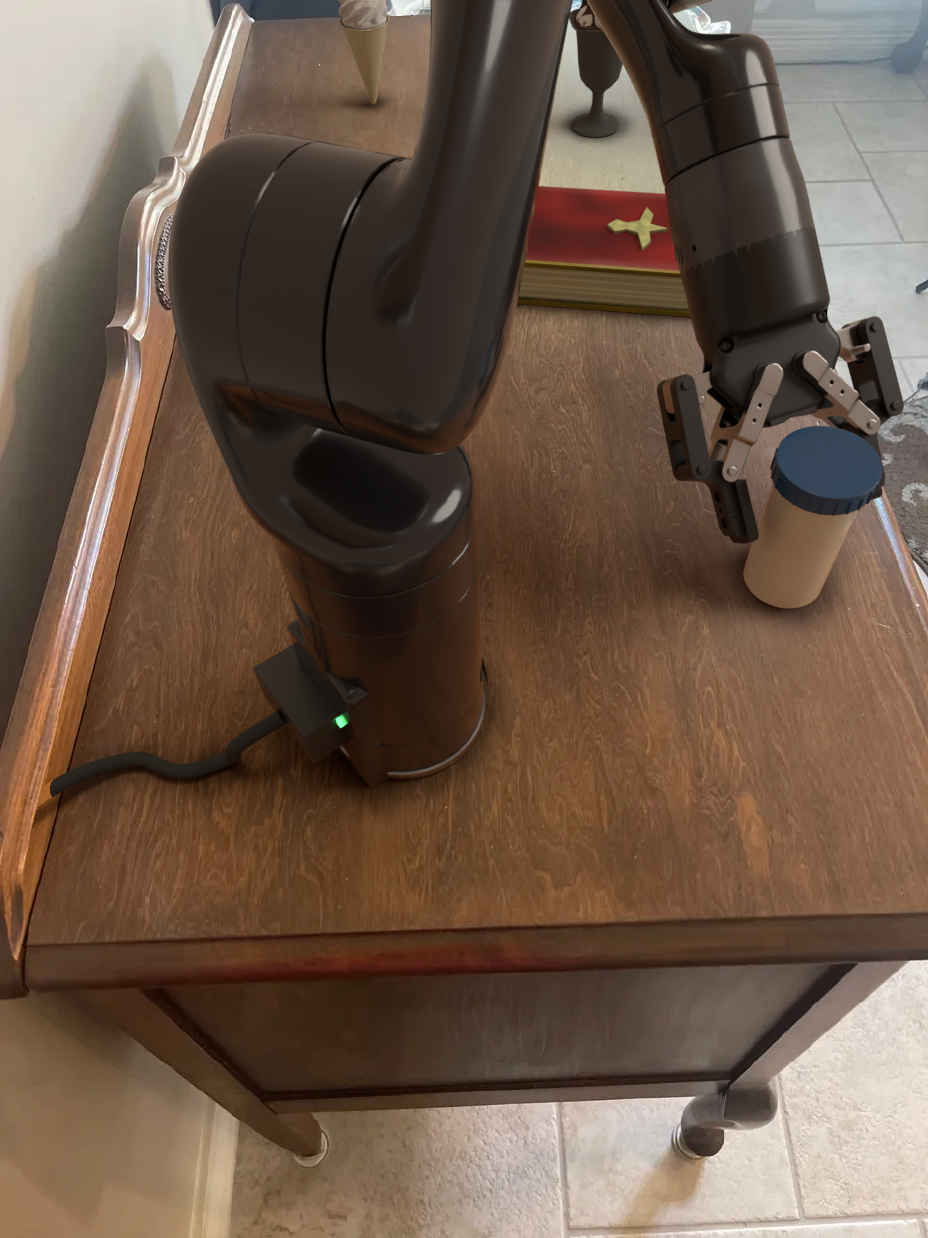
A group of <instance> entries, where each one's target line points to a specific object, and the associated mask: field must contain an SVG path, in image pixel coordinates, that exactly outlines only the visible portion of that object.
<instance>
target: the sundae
mask: <svg viewBox="0 0 928 1238" xmlns="http://www.w3.org/2000/svg"><path fill="white" fill-rule="evenodd" d="M569 22H570V25H571V27H572V29H573V30H574V31H575V34H576V48H577V66H578V73H579V78H580V80H581V82H582V83H583V84H584V86H585V87H586V88H587V89H588V90H590V91H591V93H592V94H591V105H590V109H589V111H588V112H585V113H582V114H581V113H580V114H579V115H577V116H576V117H575V118H574V119H573V120H572V122H571V128H572V130H573V131H574V132H575V133H577V134H578V135H581V136H583V137H588V138H604V137H608V136H611V135H613V134H615V133H616V132H617V131H618V130H619V129H620V127H621V126H620V125H621V123H620V121H619V119H618V118H617V117H616V116H615V115H612V114H610V113H607V112H605V111H604V95H605V93H606V91H607V90H609V89H611V88H612V87H613V86H614V84H616V82H617V81H618V80H619V79H620V75H621V73H622V69H623V67H624V65H623V64H622V62H621V60H620V58H619V56H618V54H617V53H616V51H615V49H614V47H613V45H612V44H611V42H610V40H609V39H608V37H607V35H606V34H605V32H604V30H603V29H602V27H601V25H600V23H599V22H598V20H597V18H596V17H595V15H594V13H593V11H592V9H591V7H590V5H589V3H588V1H587V0H581V4H580V6H579V8H576V9H573V10H571V12H570V16H569Z"/></svg>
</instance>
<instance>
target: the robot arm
mask: <svg viewBox="0 0 928 1238" xmlns="http://www.w3.org/2000/svg"><path fill="white" fill-rule="evenodd" d="M429 1H430V2H429V3H430V37H429V59H428V71H427V83H426V90H425V98H424V99H425V100H424V105H423V112H422V116H421V117H422V118H421V125H420V127H419V133H418V137H417V141H416V145H415V148H414V150H413V154H412V156H411V157H405V156H401V155H396V154H390V153H385V152H380V151H374V150H369V149H365V148H358V147H354V146H348V145H342V144H337V143H331V142H326V141H322V140H316V139H311V138H304V137H299V136H294V135H288V134H282V133H281V134H280V133H273V132H245V133H240V134H237V135H234V136H231V137H228V138H225V139H223V140H222V141H219V142H218V143H217V144H215V145H214V146H213V147H212V148H210V149H209V150H208V151H207V152H206V153H205V154H204V155H203V156H202V157H201V158H200V159H199V161H197V162H196V164H195V165H194V167H193V168H192V170H191V171H190V173H189V174H188V176H187V178H186V180H185V182H184V184H183V186H182V189H181V191H180V193H179V197H178V200H177V203H176V206H175V209H174V213H173V217H172V221H171V225H170V226H171V227H170V232H169V241H168V256H167V257H168V259H167V260H168V261H167V262H168V263H167V279H168V294H169V301H170V308H171V315H172V321H173V325H174V329H175V336H176V339H177V343H178V347H179V350H180V353H181V356H182V359H183V363H184V365H185V369H186V372H187V375H188V377H189V380H190V383H191V385H192V388H193V390H194V393H195V396H196V398H197V401H198V403H199V406H200V408H201V411H202V413H203V415H204V417H205V420H206V422H207V424H208V427H209V429H210V432H211V434H212V437H213V439H214V441H215V443H216V446H217V448H218V450H219V453H220V455H221V457H222V460H223V462H224V465H225V468H226V470H227V472H228V474H229V476H230V479H231V481H232V484H233V487H234V489H235V491H236V494H237V496H238V498H239V500H240V502H241V504H242V506H243V507H244V509H245V510H246V512H247V514H248V515H249V516H250V518H251V519H252V520H253V521H254V523H256V524H257V525H258V526H259V527H260V529H262V530H263V531H264V532H266V533H267V534H268V535H269V536H270V537H271V539H272V542H273V545H274V549H275V553H276V555H277V558H278V561H279V565H280V568H281V571H282V575H283V578H284V581H285V583H286V588H287V590H288V594H289V597H290V601H291V603H292V606H293V610H294V613H295V616H296V618H295V619H294V620H292V621H290V622H289V623H288V624H287V632H288V634H289V637H290V641H291V643H292V644H291V645H289V646H287V647H286V648H284V649H282V650H280V651H279V652H277V653H275V654H274V655H272V656H270V657H269V658H267V659H266V660H263V661H262V662H260V663H259V664H257V665H255V666H254V667H252V669H253V672H254V674H255V677H256V679H257V682H258V684H259V687H260V690H261V691H262V694H263V696H264V698H265V700H266V701H267V702H268V704H269V705H270V707H271V708H272V709H273V711H274V712H273V713H271V714H270V715H267V716H266V717H264V718H263V719H261V720H260V721H258V722H256V723H255V724H253V725H252V726H250V727H248V728H247V729H245V730H244V731H242V732H240V733H239V734H238V735H236V736H235V737H233V738H232V739H231V740H230V741H229V742H228V743H227V745H226V747H225V751H222V752H220V753H218V754H216V755H214V756H211V757H208V758H206V759H202V760H197V761H194V762H188V763H187V762H186V763H176V762H172V761H168V760H167V759H164V758H162V757H160V756H158V755H156V754H152V753H149V752H145V751H129V752H128V751H127V752H123V753H118V754H114V755H110V756H106V757H105V756H104V757H102V758H99V759H96V760H93V761H89V762H87V763H84V764H82V765H79V766H77V767H75V768H72V769H70V770H68V771H66V772H64V773H62V774H60V775H58V776H57V777H55V778H53V779H52V780H53V781H52V782H51V785H50V794H51V796H52V797H53V798H55V797H56V796H57V795H60V794H61V793H63V792H64V791H66V790H68V789H70V788H72V787H74V786H76V785H78V784H80V783H82V782H85V781H87V780H89V779H92V778H95V777H98V776H100V775H103V774H107V773H111V772H113V771H118V770H123V769H128V768H134V767H142V768H145V769H148V770H150V771H152V772H154V773H156V774H159V775H161V776H164V777H168V778H172V779H179V780H180V779H184V780H185V779H194V778H198V777H202V776H206V775H209V774H212V773H216V772H219V771H220V770H223V769H226V768H227V767H229V766H231V765H233V764H235V763H238V762H239V760H240V759H241V757H242V752H244V751H245V750H247V749H248V748H249V747H251V746H253V745H254V744H255V743H257V742H259V741H260V740H262V739H264V738H265V737H267V736H268V735H270V734H272V733H273V732H275V731H277V730H278V729H280V728H281V727H283V726H285V727H286V728H287V730H288V732H290V734H291V735H292V737H293V738H294V740H295V741H296V742H297V744H298V745H299V746H300V748H301V749H302V751H303V752H304V753H305V755H306V756H307V758H308V759H309V760H310V762H311V764H313V765H314V764H316V763H318V762H319V761H321V760H323V759H324V758H325V757H327V756H329V755H331V754H332V753H334V752H335V751H336V750H339V751H340V752H341V754H343V756H344V757H345V758H346V759H347V760H348V761H349V762H350V763H351V764H352V766H353V767H354V768H355V770H356V771H357V772H358V774H359V775H360V777H361V778H362V779H363V780H364V781H365V783H366V784H367V785H368V786H369V787H371V788H374V787H376V786H378V785H379V784H381V783H382V782H385V781H386V780H388V779H394V780H413V779H419V778H424V777H427V776H431V775H434V774H437V773H439V772H441V771H443V770H445V769H447V768H449V767H450V766H452V765H453V764H455V763H456V762H458V761H459V760H460V759H461V758H463V756H464V755H465V754H467V753H468V751H469V750H470V749H471V748H472V746H473V745H474V743H475V742H476V740H477V738H478V737H479V735H480V732H481V730H482V727H483V724H484V721H485V715H486V693H485V689H484V682H483V681H484V679H485V682H486V685H487V687H488V686H489V683H488V682H489V680H488V679H489V677H488V671H487V667H486V664H485V662H484V658H483V655H482V630H481V629H482V628H481V625H482V624H481V605H480V604H481V601H480V600H481V599H480V580H479V579H480V578H479V577H480V575H479V547H478V546H479V545H478V544H479V543H478V516H477V515H478V505H477V504H478V503H477V502H478V501H477V483H476V475H475V470H474V466H473V463H472V460H471V458H470V455H469V452H468V451H467V449H466V448H465V446H464V444H463V442H464V441H465V440H466V439H467V438H468V437H469V436H470V434H471V433H472V432H473V431H474V429H475V428H476V427H477V425H478V424H479V422H480V421H481V418H482V417H483V415H484V413H485V411H486V408H487V406H488V404H489V401H490V399H491V397H492V394H493V393H494V389H495V387H496V384H497V382H498V379H499V376H500V373H501V369H502V366H503V364H504V360H505V358H506V357H505V356H506V352H507V348H508V344H509V341H510V336H511V332H512V329H513V326H514V325H513V324H514V320H515V316H516V310H517V306H518V304H517V302H518V296H519V291H520V286H521V281H522V276H523V271H524V266H525V261H526V256H527V250H528V244H529V239H530V233H531V227H532V221H533V216H534V210H535V204H536V199H537V193H538V187H539V186H540V180H541V177H542V169H543V164H544V158H545V153H546V147H547V141H548V136H549V131H550V124H551V119H552V113H553V107H554V102H555V95H556V90H557V85H558V80H559V75H560V69H561V63H562V58H563V52H564V48H565V43H566V42H565V41H566V35H567V32H568V26H569V22H570V19H569V16H570V12H571V11H572V6H573V1H574V0H429ZM587 1H588V3H589V5H590V7H591V9H592V11H593V13H594V15H595V17H596V18H597V20H598V22H599V23H600V25H601V27H602V29H603V30H604V32H605V34H606V35H607V37H608V39H609V40H610V42H611V44H612V45H613V47H614V49H615V51H616V53H617V54H618V56H619V58H620V60H621V62H622V64H623V68H624V69H625V71H626V73H627V75H628V78H629V80H630V82H631V84H632V86H633V88H634V90H635V93H636V95H637V97H638V99H639V101H640V104H641V106H642V109H643V112H644V113H645V116H646V120H647V123H648V127H649V131H650V135H651V139H652V144H653V148H654V151H655V156H656V160H657V165H658V168H659V172H660V176H661V180H662V184H663V187H664V194H665V195H666V201H667V209H668V220H669V228H670V233H671V238H672V242H673V246H674V254H675V259H676V261H677V263H678V267H679V271H680V275H681V279H682V283H683V287H684V291H685V295H686V299H687V304H688V308H689V312H690V316H691V317H690V320H691V324H692V328H693V332H694V336H695V341H696V343H697V345H698V346H699V348H700V350H701V352H702V356H703V366H702V371H701V372H700V373H697V374H693V375H690V374H687V373H684V374H680V375H676V376H674V377H670V378H667V379H663V380H661V381H660V382H659V383H658V384H657V386H656V396H657V401H658V405H659V411H660V416H661V421H662V427H663V431H664V436H665V441H666V446H667V451H668V457H669V461H670V467H671V472H672V476H673V477H674V479H675V480H676V481H678V482H694V483H697V482H698V483H703V484H705V485H706V486H707V488H708V490H709V491H710V492H709V493H710V496H711V500H712V504H713V508H714V512H715V516H716V520H717V524H718V529H719V530H720V532H721V533H722V535H723V536H724V537H729V539H730V541H731V542H732V543H734V544H742V545H747V544H750V543H752V542H753V541H756V540H758V538H759V532H758V525H757V521H756V516H755V511H754V506H753V503H752V500H751V495H750V490H749V487H748V482H747V479H746V478H741V479H740V477H741V476H742V473H743V470H744V467H745V464H746V462H747V459H748V456H749V453H750V451H751V448H752V447H753V446H754V445H756V443H757V442H758V440H759V438H760V436H761V433H762V430H763V429H766V428H771V427H775V426H778V425H781V424H784V423H785V422H788V420H789V419H791V418H793V419H794V418H799V417H804V416H805V417H806V416H808V415H811V416H812V417H814V418H816V419H820V420H822V421H823V422H824V423H825V424H826V425H828V426H829V427H835V428H839V429H843V430H846V431H849V432H851V433H853V434H855V435H857V436H859V437H861V438H862V439H864V440H865V441H866V442H868V443H869V444H870V445H871V446H872V447H873V448H874V450H875V451H876V452H877V454H878V455H879V457H880V460H881V463H882V476H881V479H880V481H879V483H880V484H879V487H878V489H877V491H876V493H875V495H874V496H872V498H871V500H870V502H871V501H873V500H876V499H879V498H881V497H882V495H883V487H884V486H885V484H886V473H885V468H884V463H883V459H882V453H881V448H880V444H879V439H878V432H880V430H881V429H880V428H881V426H882V425H884V424H885V423H886V422H888V421H889V420H890V419H891V418H892V417H896V416H899V415H901V414H902V412H903V411H904V407H905V403H904V402H905V401H904V399H903V395H902V391H901V387H900V384H899V383H900V382H899V380H898V375H897V372H896V367H895V363H894V360H893V356H892V352H891V348H890V344H889V341H888V337H887V333H886V329H885V325H884V322H883V320H882V319H881V317H879V316H877V315H876V316H875V315H873V316H870V317H865V318H861V319H858V320H854V321H852V322H850V323H846V324H844V325H843V326H841V328H840V329H838V330H835V329H834V327H833V326H832V325H831V322H830V320H829V317H828V311H829V305H830V303H831V295H830V291H829V290H830V289H829V286H828V281H827V275H826V272H825V268H824V263H823V258H822V253H821V249H820V245H819V239H818V235H817V230H816V229H817V228H816V226H815V221H814V217H813V212H812V207H811V201H810V198H809V193H808V189H807V184H806V181H805V177H804V174H803V171H802V168H801V166H800V163H799V161H798V158H797V156H796V153H795V149H794V146H793V142H792V140H791V133H790V128H789V123H788V120H787V119H788V118H787V114H786V110H785V106H784V101H783V96H782V91H781V88H780V87H781V86H780V82H779V77H778V72H777V68H776V64H775V60H774V56H773V54H772V51H771V48H770V46H769V44H768V43H767V42H766V41H765V39H763V38H761V37H760V36H759V35H757V34H754V33H749V32H727V33H703V32H697V31H693V30H690V29H689V28H687V27H686V26H685V25H684V24H683V23H682V22H680V20H679V19H678V18H677V17H676V16H675V15H674V14H678V13H680V12H681V13H682V12H683V11H686V10H690V9H692V8H695V7H698V6H701V5H704V4H707V3H711V2H713V1H715V0H587ZM839 358H840V359H842V360H843V361H844V362H845V363H846V365H847V368H848V372H849V376H850V380H851V384H852V385H851V384H849V382H848V381H846V380H845V379H844V378H843V377H842V376H841V375H839V374H838V372H836V371H835V368H836V365H837V363H838V360H839ZM706 394H708V396H710V397H711V398H712V399H713V400H715V402H717V403H718V405H720V408H719V411H718V414H717V417H716V420H715V422H714V425H713V428H712V430H711V434H710V438H709V440H710V442H711V444H710V447H709V449H708V443H707V437H706V432H705V427H704V423H703V417H702V416H703V415H702V410H703V409H704V407H705V405H706ZM483 677H484V678H483Z"/></svg>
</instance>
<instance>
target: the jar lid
mask: <svg viewBox="0 0 928 1238" xmlns="http://www.w3.org/2000/svg"><path fill="white" fill-rule="evenodd" d="M882 463H883V462H882ZM882 463H881V460H880V457H879V455H878V454H877V452H876V451H875V450H874V448H873V447H872V446H871V445H870V444H869V443H868V442H866V441H865V440H864V439H862V438H861V437H859V436H857V435H855V434H853V433H851V432H849V431H846V430H843V429H839V428H835V427H830V426H829V425H828V426H827V425H812V426H806V427H801V428H799V429H796V430H794V431H792V432H790V433H788V434H787V435H786V436H785V437H783V439H782V440H781V441H780V443H779V444H778V447H776V448H775V452H774V455H773V457H772V461H771V463H770V467H769V470H770V480H771V481H772V484H774V486H775V487H774V488H775V489H777V490H778V492H779V493H780V494H781V495H782V497H784V498H785V499H786V500H787V501H789V502H790V503H792V505H795V506H797V507H798V508H801V509H803V510H805V511H808V512H812V513H816V514H819V515H833V516H835V515H843V514H849V513H851V512H854V511H856V510H858V512H859V511H860V510H861V509H862V508H863V507H864V506H866V505H869V503H870V502H871V501H872V500H871V498H872V496H874V495H875V493H876V491H877V489H878V487H879V484H880V483H879V481H880V479H881V476H882ZM870 500H871V501H870Z"/></svg>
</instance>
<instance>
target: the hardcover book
mask: <svg viewBox="0 0 928 1238" xmlns="http://www.w3.org/2000/svg"><path fill="white" fill-rule="evenodd" d="M517 305H530V306H542V307H543V306H544V307H553V308H566V309H567V308H570V309H582V310H593V311H594V310H595V311H597V310H598V311H605V312H606V311H608V312H622V313H631V314H633V313H634V314H647V315H656V316H657V315H658V316H659V315H660V316H669V317H670V316H671V317H682V318H683V317H685V318H686V317H687V318H691V316H690V312H689V308H688V304H687V299H686V295H685V291H684V287H683V283H682V279H681V275H680V271H679V267H678V263H677V261H676V259H675V254H674V246H673V242H672V238H671V233H670V228H669V220H668V209H667V201H666V195H665V193H661V192H660V193H659V192H644V191H630V190H629V191H628V190H627V191H626V190H609V189H596V188H595V189H593V188H581V187H580V188H577V187H564V186H563V187H561V186H545V185H539V187H538V193H537V199H536V204H535V210H534V216H533V221H532V227H531V233H530V239H529V244H528V250H527V256H526V261H525V266H524V271H523V276H522V281H521V286H520V291H519V296H518V302H517Z"/></svg>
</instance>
